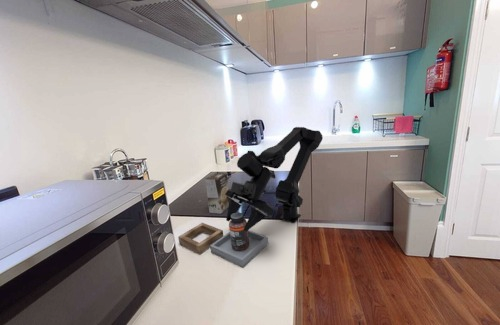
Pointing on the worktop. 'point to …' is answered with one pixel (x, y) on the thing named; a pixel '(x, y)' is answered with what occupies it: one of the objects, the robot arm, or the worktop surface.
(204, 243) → the walnut holder
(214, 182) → the coffee box
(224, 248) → the grey tray
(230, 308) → the worktop surface
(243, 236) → the supplement bottle
